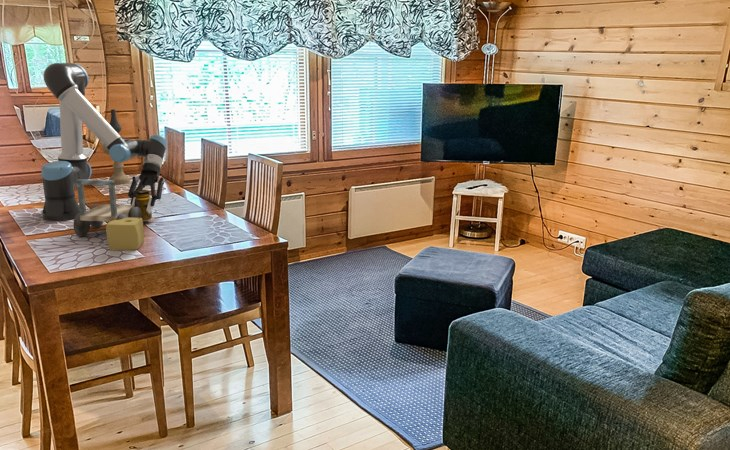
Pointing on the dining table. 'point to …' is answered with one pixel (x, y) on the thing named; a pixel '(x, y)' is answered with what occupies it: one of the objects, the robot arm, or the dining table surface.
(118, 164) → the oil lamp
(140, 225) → the cheese
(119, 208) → the trolley
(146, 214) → the condiment
